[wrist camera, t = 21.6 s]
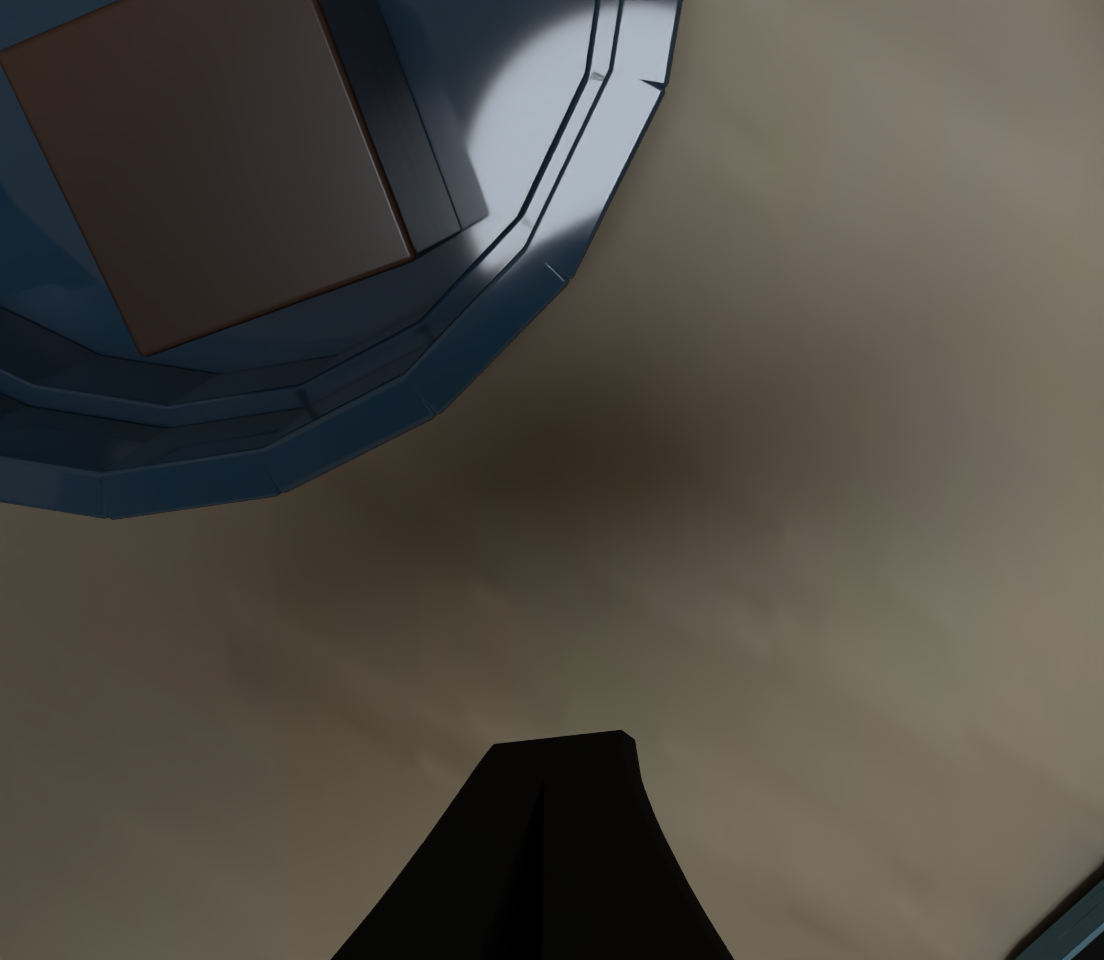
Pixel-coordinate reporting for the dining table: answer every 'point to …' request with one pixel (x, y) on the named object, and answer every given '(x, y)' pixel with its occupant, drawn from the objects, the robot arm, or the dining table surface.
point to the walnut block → (231, 154)
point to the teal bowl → (338, 316)
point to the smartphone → (1073, 932)
